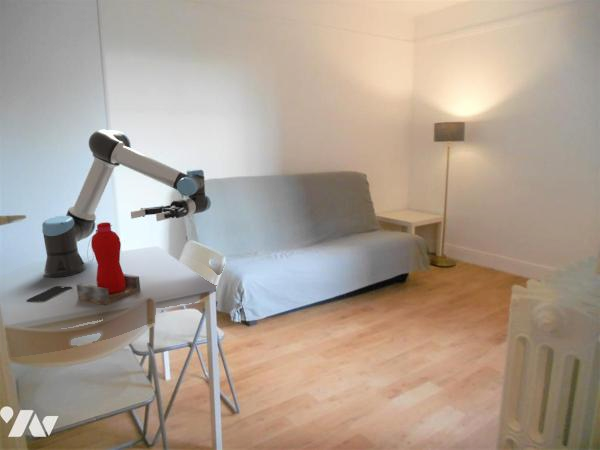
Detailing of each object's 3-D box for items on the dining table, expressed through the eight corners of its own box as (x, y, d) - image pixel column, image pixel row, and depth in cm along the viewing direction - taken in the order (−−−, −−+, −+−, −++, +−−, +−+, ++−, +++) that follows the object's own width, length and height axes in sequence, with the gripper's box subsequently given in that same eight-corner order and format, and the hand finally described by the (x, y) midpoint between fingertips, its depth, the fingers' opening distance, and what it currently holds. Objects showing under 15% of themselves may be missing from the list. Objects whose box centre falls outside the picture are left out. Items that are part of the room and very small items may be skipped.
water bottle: (92, 290, 149) (82, 223, 144) (124, 284, 155) (116, 219, 149) (93, 298, 141) (83, 227, 136) (127, 291, 147) (119, 223, 141)
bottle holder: (78, 299, 145) (76, 284, 144) (113, 285, 158) (112, 272, 157) (106, 305, 139) (104, 290, 138) (140, 290, 152) (138, 276, 151)
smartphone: (73, 286, 157) (43, 301, 143) (73, 288, 157) (43, 303, 143) (56, 285, 159) (24, 300, 144) (56, 287, 159) (24, 302, 144)
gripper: (205, 218, 172) (169, 228, 154) (161, 214, 183) (122, 223, 165) (204, 200, 171) (167, 208, 152) (160, 197, 182) (120, 204, 163)
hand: (144, 216), depth 159 cm, fingers open, 13 cm apart
